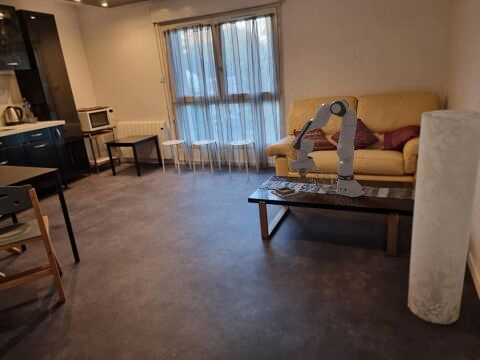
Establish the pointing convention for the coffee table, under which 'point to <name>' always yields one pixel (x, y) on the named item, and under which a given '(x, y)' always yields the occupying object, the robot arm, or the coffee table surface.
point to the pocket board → (285, 192)
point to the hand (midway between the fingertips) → (302, 174)
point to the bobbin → (302, 174)
